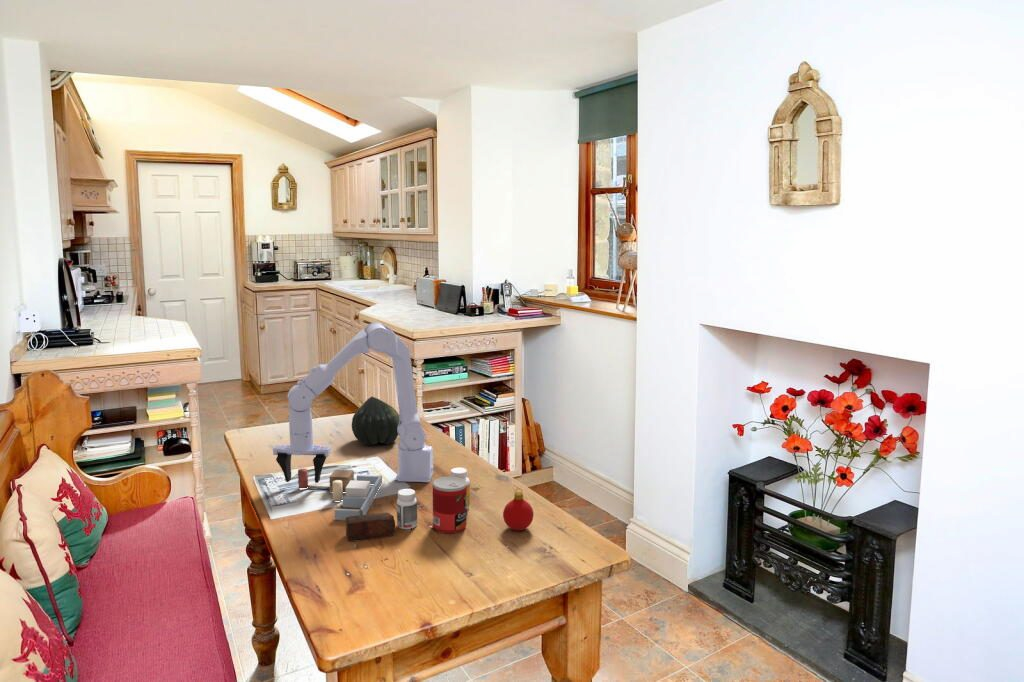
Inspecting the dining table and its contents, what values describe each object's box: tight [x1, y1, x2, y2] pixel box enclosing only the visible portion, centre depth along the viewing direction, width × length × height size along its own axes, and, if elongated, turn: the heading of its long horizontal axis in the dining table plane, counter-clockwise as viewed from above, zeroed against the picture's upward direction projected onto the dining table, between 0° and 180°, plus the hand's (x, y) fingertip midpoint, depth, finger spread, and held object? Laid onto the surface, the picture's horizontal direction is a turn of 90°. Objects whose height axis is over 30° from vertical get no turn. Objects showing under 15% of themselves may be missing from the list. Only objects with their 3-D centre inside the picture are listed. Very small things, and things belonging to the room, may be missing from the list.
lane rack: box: [334, 474, 383, 521], centre depth 181 cm, size 7×22×2 cm, turn 178°
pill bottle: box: [396, 488, 418, 530], centre depth 167 cm, size 5×5×8 cm
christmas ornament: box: [502, 487, 534, 531], centre depth 166 cm, size 7×7×10 cm
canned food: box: [432, 476, 468, 534], centre depth 167 cm, size 8×8×11 cm
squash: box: [351, 396, 399, 446], centre depth 225 cm, size 14×15×15 cm
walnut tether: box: [297, 468, 355, 493], centre depth 188 cm, size 14×5×5 cm, turn 88°
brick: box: [344, 511, 396, 542], centre depth 162 cm, size 11×4×5 cm, turn 111°
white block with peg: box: [332, 479, 371, 502], centre depth 181 cm, size 9×5×5 cm, turn 88°
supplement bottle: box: [450, 467, 471, 510], centre depth 178 cm, size 5×5×10 cm
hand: (303, 480), depth 188 cm, fingers open, 7 cm apart
